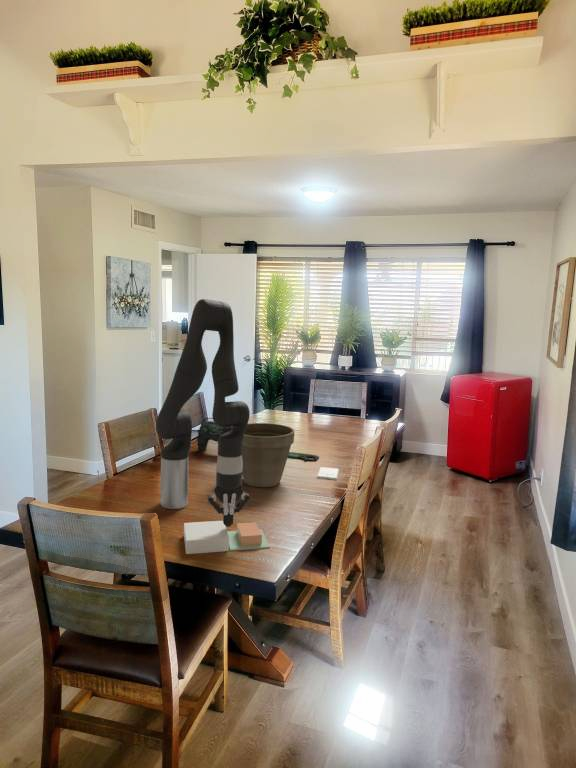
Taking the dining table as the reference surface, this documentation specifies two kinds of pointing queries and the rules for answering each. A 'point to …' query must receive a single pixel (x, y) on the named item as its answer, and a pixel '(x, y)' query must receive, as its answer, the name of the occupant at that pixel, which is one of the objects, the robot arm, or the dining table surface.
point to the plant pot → (265, 453)
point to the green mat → (235, 545)
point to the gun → (303, 456)
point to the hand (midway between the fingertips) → (227, 525)
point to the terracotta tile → (249, 534)
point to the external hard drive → (328, 473)
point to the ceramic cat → (210, 433)
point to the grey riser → (205, 537)
